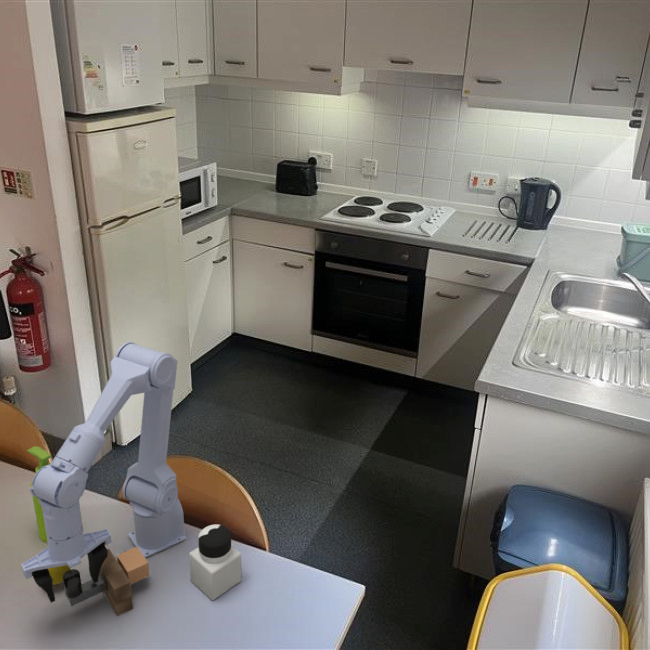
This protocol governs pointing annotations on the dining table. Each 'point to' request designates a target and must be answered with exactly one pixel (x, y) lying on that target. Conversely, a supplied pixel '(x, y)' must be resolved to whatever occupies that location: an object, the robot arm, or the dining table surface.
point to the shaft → (81, 587)
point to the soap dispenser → (43, 461)
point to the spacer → (134, 564)
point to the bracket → (116, 585)
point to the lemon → (58, 573)
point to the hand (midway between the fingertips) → (73, 588)
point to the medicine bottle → (215, 562)
